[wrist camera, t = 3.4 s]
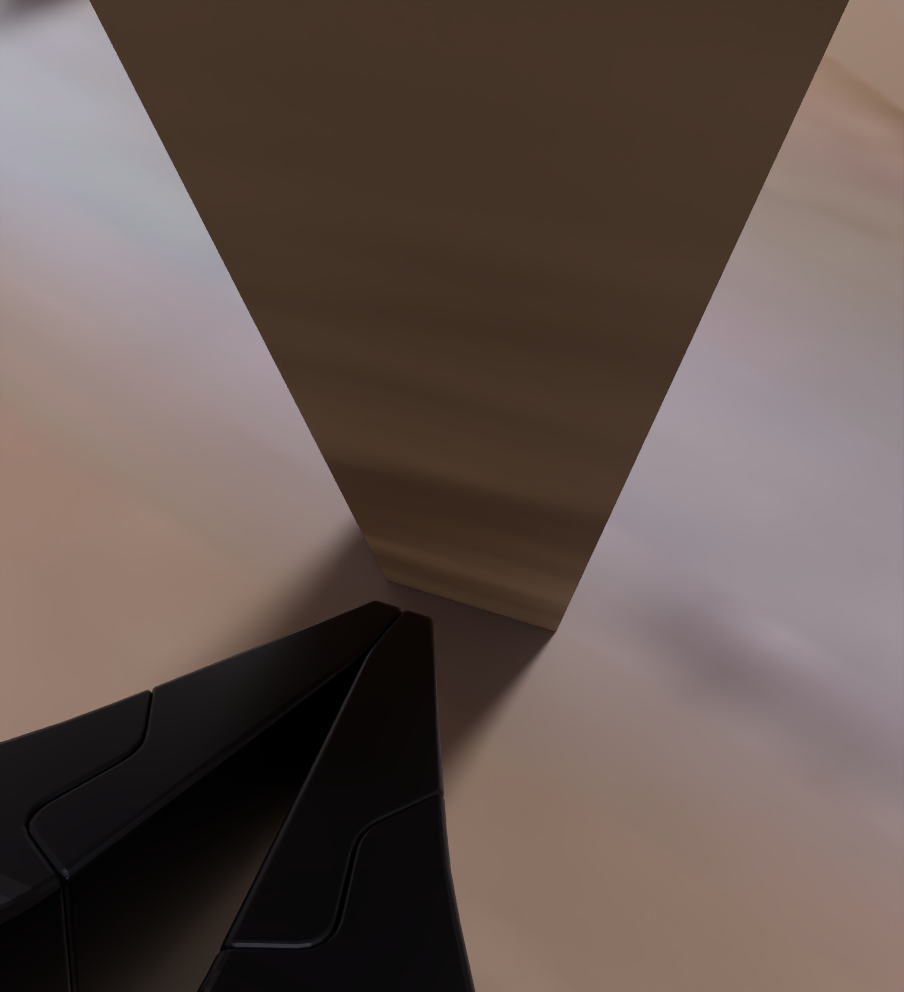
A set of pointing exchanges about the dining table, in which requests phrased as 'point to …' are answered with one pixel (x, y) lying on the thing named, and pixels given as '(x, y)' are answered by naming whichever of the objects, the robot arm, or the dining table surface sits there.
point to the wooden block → (475, 239)
